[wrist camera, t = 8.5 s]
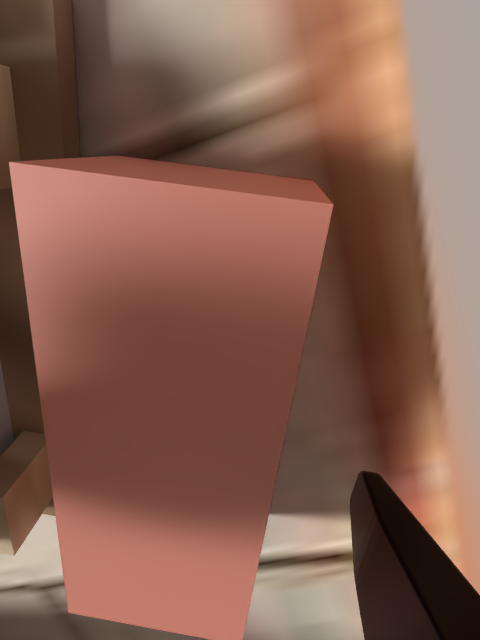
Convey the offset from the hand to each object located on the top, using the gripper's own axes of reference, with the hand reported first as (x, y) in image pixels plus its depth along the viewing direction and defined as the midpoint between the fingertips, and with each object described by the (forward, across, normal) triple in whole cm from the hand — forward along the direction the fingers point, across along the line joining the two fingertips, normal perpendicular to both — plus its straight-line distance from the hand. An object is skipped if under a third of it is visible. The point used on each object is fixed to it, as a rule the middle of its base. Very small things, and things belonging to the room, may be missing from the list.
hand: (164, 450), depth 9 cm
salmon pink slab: (+4, 0, 0) cm, 4 cm away
